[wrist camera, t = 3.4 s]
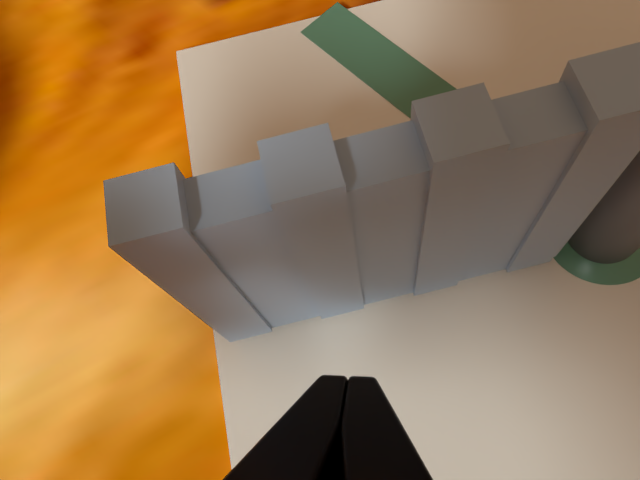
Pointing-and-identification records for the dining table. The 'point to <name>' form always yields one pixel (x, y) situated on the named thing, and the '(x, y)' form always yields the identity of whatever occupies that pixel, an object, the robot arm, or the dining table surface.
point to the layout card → (469, 294)
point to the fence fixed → (613, 221)
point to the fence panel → (384, 201)
